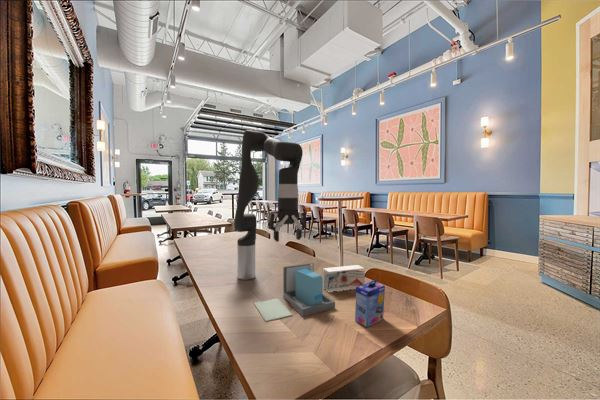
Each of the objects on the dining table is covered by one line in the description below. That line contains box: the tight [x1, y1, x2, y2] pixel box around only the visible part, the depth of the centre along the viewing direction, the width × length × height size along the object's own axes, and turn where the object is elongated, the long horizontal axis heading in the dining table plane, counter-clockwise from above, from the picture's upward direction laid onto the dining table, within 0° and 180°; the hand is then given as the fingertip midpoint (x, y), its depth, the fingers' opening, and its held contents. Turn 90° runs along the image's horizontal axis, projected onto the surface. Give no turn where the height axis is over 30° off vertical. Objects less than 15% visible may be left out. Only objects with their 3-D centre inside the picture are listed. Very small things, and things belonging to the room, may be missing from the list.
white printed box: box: [322, 264, 366, 293], centre depth 114 cm, size 20×6×9 cm, turn 109°
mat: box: [253, 298, 293, 323], centre depth 92 cm, size 15×10×1 cm, turn 26°
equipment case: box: [282, 262, 336, 317], centre depth 98 cm, size 18×14×13 cm
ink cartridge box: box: [354, 278, 386, 328], centre depth 85 cm, size 10×6×14 cm, turn 128°
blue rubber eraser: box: [295, 269, 323, 306], centre depth 98 cm, size 12×4×12 cm, turn 37°
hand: (287, 240), depth 91 cm, fingers open, 8 cm apart
